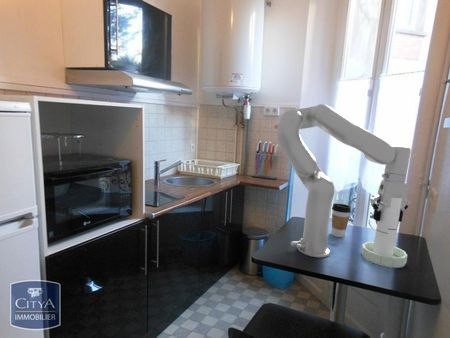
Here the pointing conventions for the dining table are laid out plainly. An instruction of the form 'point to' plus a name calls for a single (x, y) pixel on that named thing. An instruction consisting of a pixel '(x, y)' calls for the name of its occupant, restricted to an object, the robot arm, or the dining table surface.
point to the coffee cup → (340, 219)
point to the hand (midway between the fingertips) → (387, 220)
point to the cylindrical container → (387, 229)
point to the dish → (393, 262)
